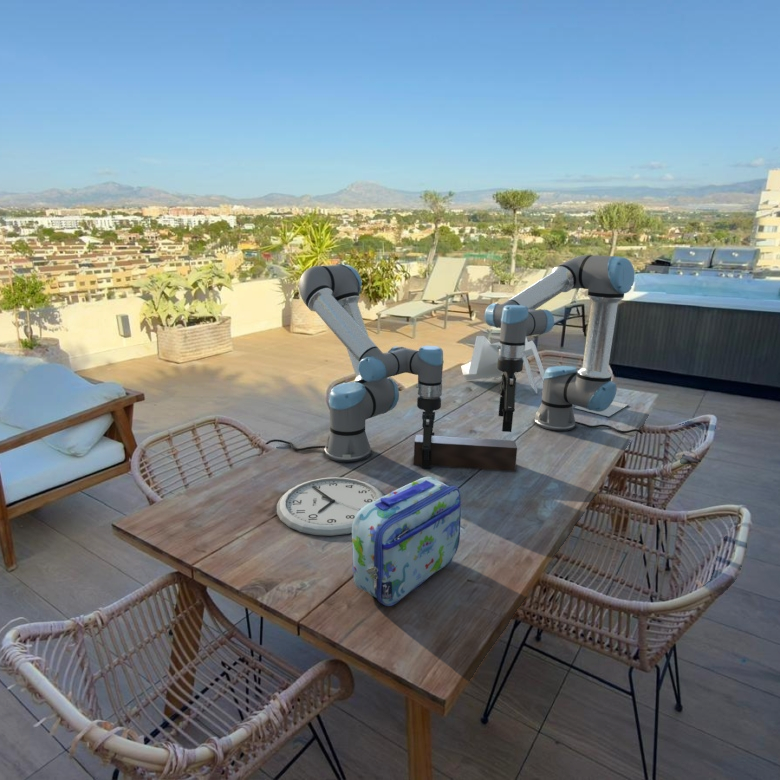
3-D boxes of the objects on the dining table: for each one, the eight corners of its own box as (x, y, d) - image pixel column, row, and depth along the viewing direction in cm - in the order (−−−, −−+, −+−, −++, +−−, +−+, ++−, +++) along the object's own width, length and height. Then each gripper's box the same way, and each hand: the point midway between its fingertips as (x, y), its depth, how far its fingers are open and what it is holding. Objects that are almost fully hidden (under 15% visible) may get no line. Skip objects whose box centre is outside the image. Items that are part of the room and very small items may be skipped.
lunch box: (381, 619, 101) (382, 525, 95) (345, 592, 109) (344, 503, 102) (464, 563, 119) (469, 480, 113) (428, 543, 126) (432, 464, 120)
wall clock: (392, 527, 129) (268, 531, 127) (391, 533, 130) (269, 537, 127) (383, 473, 158) (282, 475, 155) (383, 478, 158) (282, 480, 156)
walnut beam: (512, 463, 170) (515, 440, 168) (514, 471, 165) (517, 448, 162) (415, 456, 174) (415, 434, 171) (413, 464, 168) (414, 441, 166)
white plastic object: (482, 422, 260) (461, 399, 236) (463, 348, 283) (442, 320, 258) (555, 398, 248) (541, 371, 224) (529, 323, 270) (514, 291, 246)
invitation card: (608, 416, 214) (573, 407, 224) (608, 416, 214) (573, 408, 224) (628, 404, 229) (594, 396, 238) (628, 405, 229) (594, 397, 238)
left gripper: (419, 385, 175) (417, 446, 181) (414, 406, 154) (412, 475, 160) (442, 386, 174) (439, 448, 181) (440, 407, 153) (437, 477, 160)
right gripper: (495, 347, 169) (489, 409, 176) (501, 366, 146) (495, 437, 152) (518, 349, 169) (512, 411, 175) (529, 368, 145) (521, 439, 151)
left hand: (426, 460), depth 171 cm, fingers open, 9 cm apart
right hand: (504, 423), depth 163 cm, fingers open, 13 cm apart
